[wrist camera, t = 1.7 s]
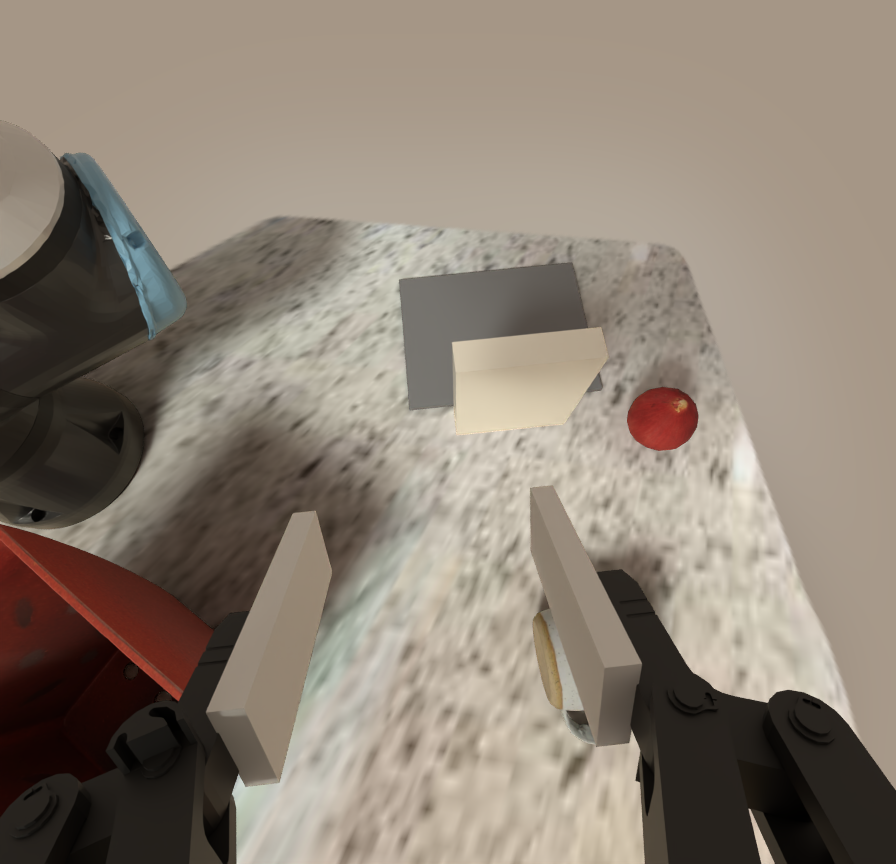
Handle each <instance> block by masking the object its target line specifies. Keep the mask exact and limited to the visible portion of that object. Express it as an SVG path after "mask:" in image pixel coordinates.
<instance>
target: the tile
mask: <svg viewBox="0 0 896 864" xmlns="http://www.w3.org/2000/svg"><path fill="white" fill-rule="evenodd" d="M608 358H609V355H608V352H607V348H606V344H605V340H604V336H603V332H602V328H601V327H596V328H586V329H577V330H567V331H557V332H547V333H537V334H527V335H518V336H508V337H498V338H488V339H478V340H468V341H458V342H452V361H453V401H454V419H455V428H456V435H466V434H475V433H485V432H495V431H504V430H514V429H523V428H533V427H543V426H552V425H562V424H564V423H565V422H566V420H567V419H568V417H569V416H570V414H571V413H572V411H573V410H574V408H575V407H576V405H577V404H578V402H579V401H580V399H581V398H582V397H583V395H584V394H585V392H586V391H587V389H588V388H589V386H590V385H591V383H592V382H593V380H594V379H595V377H596V376H597V374H598V373H599V371H600V370H601V368H602V367H603V365H604V364H605V362H606V361H607V359H608Z"/></svg>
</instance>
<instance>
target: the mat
mask: <svg viewBox="0 0 896 864" xmlns="http://www.w3.org/2000/svg"><path fill="white" fill-rule="evenodd" d="M399 284H400V297H401V310H402V322H403V335H404V347H405V360H406V373H407V385H408V398H409V409H410V410H417V409H427V408H437V407H446V406H454V401H453V361H452V342H458V341H468V340H478V339H488V338H498V337H508V336H518V335H527V334H537V333H547V332H557V331H567V330H577V329H586V328H588V327H587V323H586V318H585V314H584V310H583V306H582V302H581V298H580V293H579V289H578V285H577V281H576V277H575V273H574V268H573V264H572V263H562V264H552V265H542V266H532V267H522V268H512V269H502V270H492V271H482V272H472V273H461V274H451V275H441V276H431V277H421V278H411V279H401V280H399ZM601 390H602V385H601V381H600V377H599V373H598V374H597V376H596V377H595V379H594V380H593V382H592V383H591V385H590V386H589V388H588V389H587V391H586V392H592V391H601Z"/></svg>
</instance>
